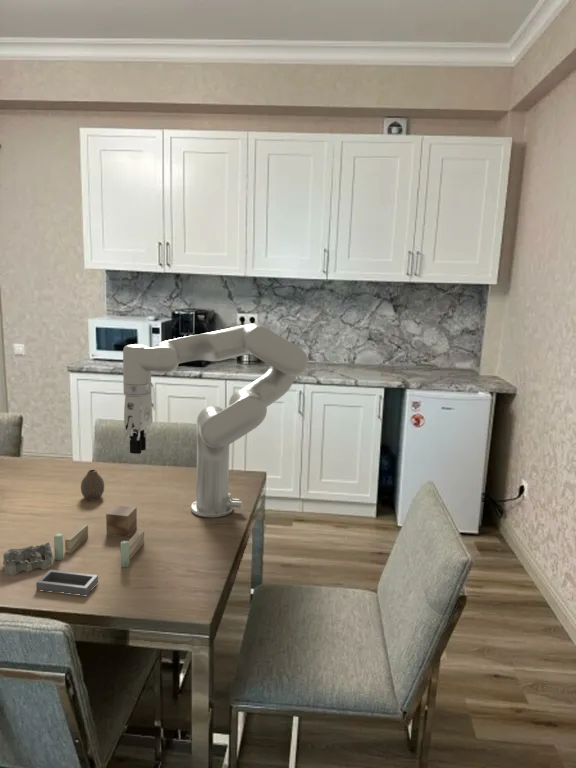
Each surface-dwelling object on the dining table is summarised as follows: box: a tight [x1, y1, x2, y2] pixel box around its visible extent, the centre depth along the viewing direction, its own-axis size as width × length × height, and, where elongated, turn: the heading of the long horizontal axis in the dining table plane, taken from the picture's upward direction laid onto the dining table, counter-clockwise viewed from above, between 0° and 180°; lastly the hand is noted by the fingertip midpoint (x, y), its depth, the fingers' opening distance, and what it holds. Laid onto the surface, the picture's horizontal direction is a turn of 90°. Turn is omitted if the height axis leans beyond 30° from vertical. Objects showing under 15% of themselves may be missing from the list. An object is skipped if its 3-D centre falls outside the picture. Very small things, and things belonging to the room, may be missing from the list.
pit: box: [35, 569, 99, 596], centre depth 129 cm, size 12×6×2 cm, turn 82°
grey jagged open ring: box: [2, 541, 54, 576], centre depth 137 cm, size 11×8×4 cm
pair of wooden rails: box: [64, 523, 145, 561], centre depth 147 cm, size 17×9×4 cm, turn 82°
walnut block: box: [105, 504, 138, 538], centre depth 157 cm, size 6×6×6 cm
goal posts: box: [53, 533, 130, 569], centre depth 139 cm, size 19×2×6 cm, turn 82°
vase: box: [80, 469, 105, 501], centre depth 177 cm, size 7×7×9 cm
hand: (137, 451), depth 165 cm, fingers open, 2 cm apart
